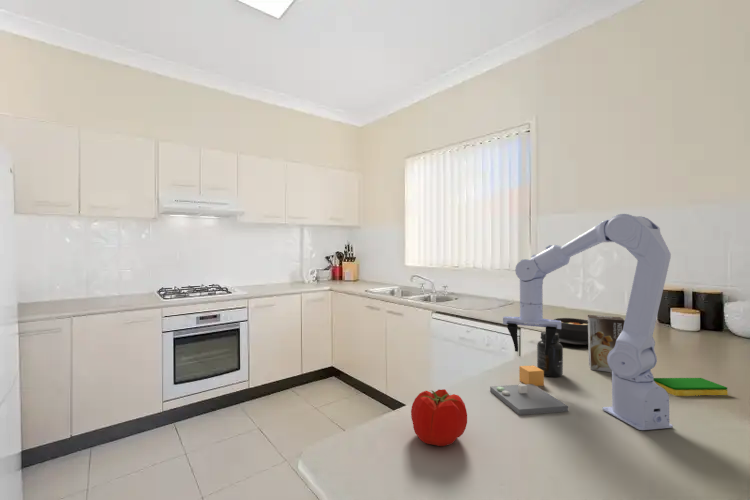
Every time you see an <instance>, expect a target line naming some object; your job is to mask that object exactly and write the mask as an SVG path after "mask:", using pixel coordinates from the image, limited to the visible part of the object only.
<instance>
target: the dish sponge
mask: <svg viewBox="0 0 750 500" xmlns="http://www.w3.org/2000/svg"><path fill="white" fill-rule="evenodd" d="M654 381H655V383H656V384H657V385H659V386H660V387H662V388H664V389H665V390H666V391H667V393H668V394H670V395H671V396H675V397H677V396H678V397H683V396H684V397H697V396H698V395H699V396H698V397H701V396H700V395H729V394H728V387H726V386H724V385H721V384H719V383H716V382H714V381H710V380H708V379H705V378H702V377H654ZM695 395H696V396H695Z"/></svg>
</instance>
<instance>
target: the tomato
mask: <svg viewBox="0 0 750 500" xmlns="http://www.w3.org/2000/svg"><path fill="white" fill-rule="evenodd" d="M430 391H431V392H430ZM410 414H411V416H410V417H411V421H412V422H411V423H412V427H413V430H414V434H416V436H417V437H418V438H419V440H420V441H421V442H423V443H425V444H426V445H432V446H438V447H445V446H448V445H452V444H453V443H454V442H455V441H456V440H457V439H459V438H460V437H461V436H462V435H463V434H464V432H465V430H466V428H467V424H468V413H467V408H466V404H465V402H464V400H463V399H462V398H461V396H459V395H458V394H455V393H454V394H450V393H449V392H448V391H447V390H446V389H437V390H435V391H434V390H432V389H431V390H429V391H428V390H424V391H422V392H420V393H418V395H417V396H416V397H415V398H414V400H413V402H412V406H411V409H410Z"/></svg>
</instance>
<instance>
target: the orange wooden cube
mask: <svg viewBox="0 0 750 500" xmlns="http://www.w3.org/2000/svg"><path fill="white" fill-rule="evenodd" d="M518 368H519V370H518V371H519V372H518V373H519V375H518V376H519V381H520V382H521V383H522V384H534V385H535V386H537V387H540V386H541V387H542V386H543V387H544V386H545V375H544V371H543V370H541V369H540V368H538V367H537V365H536V366H535V365H519V367H518Z"/></svg>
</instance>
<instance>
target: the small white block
mask: <svg viewBox="0 0 750 500" xmlns="http://www.w3.org/2000/svg"><path fill="white" fill-rule="evenodd" d="M517 385H518V392H519V393H521V394H523V393H527V386H526V385H525V384H524V383H519V384H517Z"/></svg>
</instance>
